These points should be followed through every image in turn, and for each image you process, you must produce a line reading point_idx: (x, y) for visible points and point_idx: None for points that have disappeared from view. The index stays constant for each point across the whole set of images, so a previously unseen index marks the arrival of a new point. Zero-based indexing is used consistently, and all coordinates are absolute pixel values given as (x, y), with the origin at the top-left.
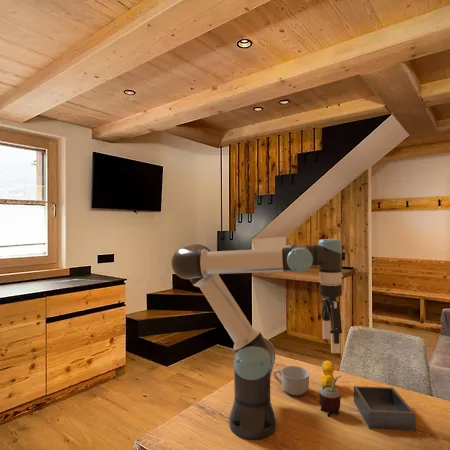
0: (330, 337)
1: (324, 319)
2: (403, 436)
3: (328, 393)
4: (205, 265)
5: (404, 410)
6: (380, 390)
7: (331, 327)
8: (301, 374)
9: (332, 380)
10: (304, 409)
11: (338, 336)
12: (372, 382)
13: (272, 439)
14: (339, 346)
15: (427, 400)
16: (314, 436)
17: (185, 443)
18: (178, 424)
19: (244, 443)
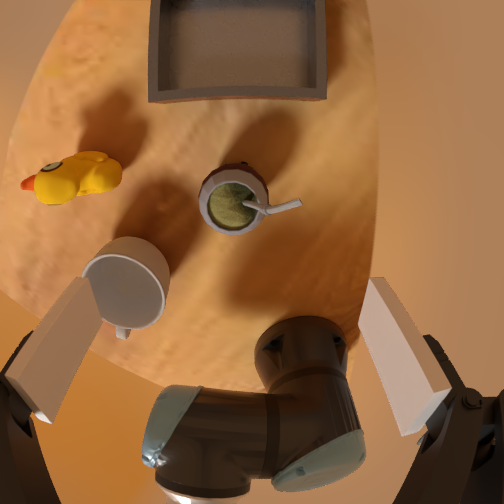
0: (84, 287)
1: (27, 417)
2: (339, 33)
3: (260, 216)
4: None
5: None
6: (161, 19)
7: (411, 469)
8: (95, 261)
9: (110, 168)
10: (229, 251)
11: (457, 380)
12: (56, 42)
13: (346, 320)
14: (401, 310)
15: None
16: (345, 245)
17: None
18: None
19: (350, 355)
